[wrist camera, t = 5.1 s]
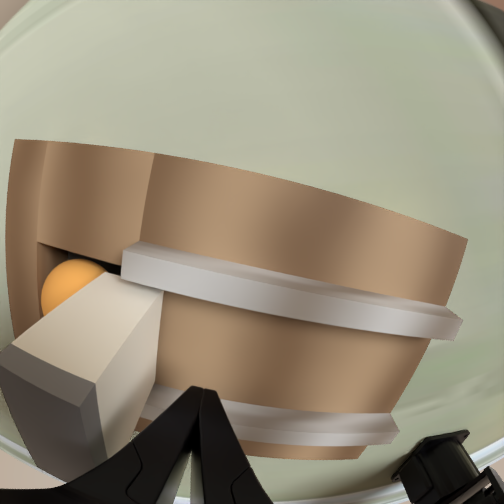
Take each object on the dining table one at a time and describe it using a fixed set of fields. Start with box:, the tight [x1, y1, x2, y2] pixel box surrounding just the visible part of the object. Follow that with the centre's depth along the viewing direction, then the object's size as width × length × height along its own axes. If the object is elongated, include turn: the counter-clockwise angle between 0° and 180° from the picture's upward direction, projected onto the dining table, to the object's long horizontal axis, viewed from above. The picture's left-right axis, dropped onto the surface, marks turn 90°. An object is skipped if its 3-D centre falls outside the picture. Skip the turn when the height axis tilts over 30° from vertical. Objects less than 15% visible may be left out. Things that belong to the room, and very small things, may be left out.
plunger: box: [0, 272, 164, 483], centre depth 8 cm, size 2×5×6 cm, turn 167°
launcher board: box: [5, 139, 468, 460], centre depth 12 cm, size 21×14×4 cm, turn 77°
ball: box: [41, 259, 107, 316], centre depth 12 cm, size 4×4×4 cm
